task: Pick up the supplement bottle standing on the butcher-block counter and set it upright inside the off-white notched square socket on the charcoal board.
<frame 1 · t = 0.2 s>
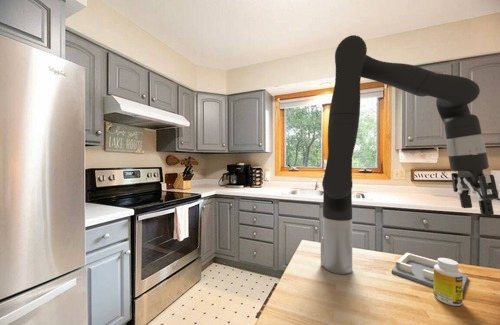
hand: (476, 211, 59), 22 cm above the counter, tool pointing down, fingers open, 8 cm apart
charcoal board: (428, 275, 67), on the counter
supplement bottle: (447, 300, 56), on the counter
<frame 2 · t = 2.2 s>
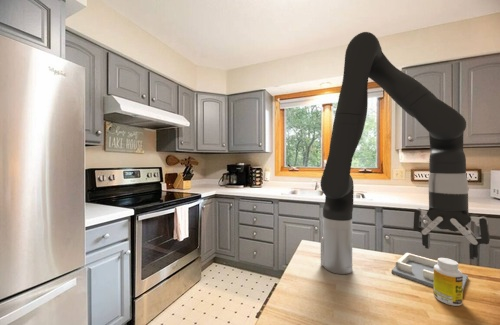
hand: (448, 252, 56), 12 cm above the counter, tool pointing down, fingers open, 8 cm apart
nothing on the counter moved.
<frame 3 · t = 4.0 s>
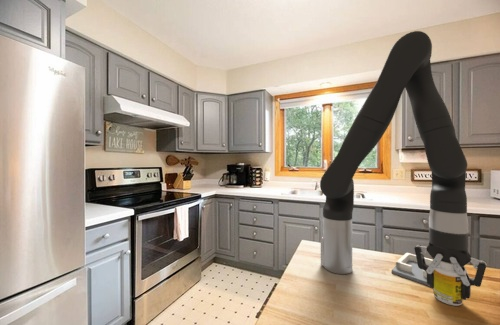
hand: (447, 292, 56), 2 cm above the counter, tool pointing down, fingers closed on supplement bottle, 5 cm apart
supplement bottle: (447, 300, 56), on the counter, touching gripper
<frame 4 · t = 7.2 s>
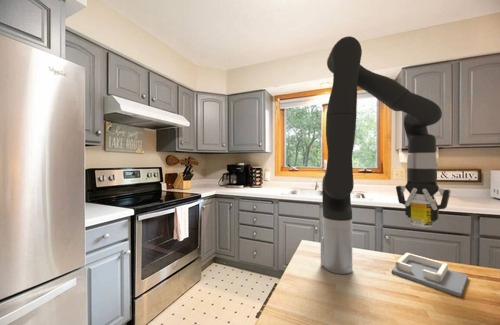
hand: (421, 219, 69), 17 cm above the counter, tool pointing down, fingers closed on supplement bottle, 5 cm apart
supplement bottle: (421, 225, 69), point 15 cm above the counter, touching gripper
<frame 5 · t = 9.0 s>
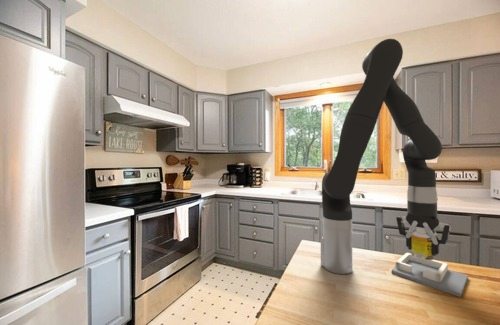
hand: (422, 251, 69), 7 cm above the counter, tool pointing down, fingers closed on supplement bottle, 5 cm apart
supplement bottle: (422, 258, 69), point 4 cm above the counter, touching gripper
when the fingers open (5 cm above the counter, at t = 10.4 s): supplement bottle drops 2 cm, resting on charcoal board.
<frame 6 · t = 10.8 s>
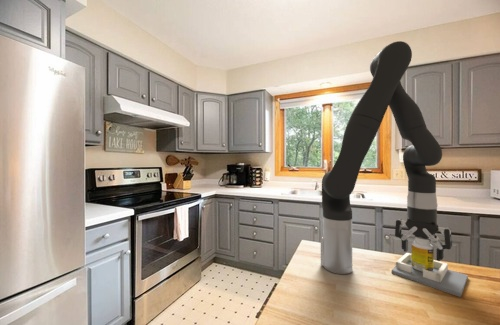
hand: (421, 255, 70), 5 cm above the counter, tool pointing down, fingers open, 8 cm apart
supplement bottle: (422, 269, 69), point 1 cm above the counter, touching charcoal board
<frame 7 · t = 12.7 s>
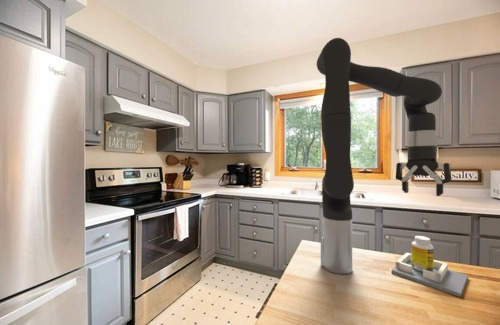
hand: (421, 194, 71), 25 cm above the counter, tool pointing down, fingers open, 8 cm apart
nothing on the counter moved.
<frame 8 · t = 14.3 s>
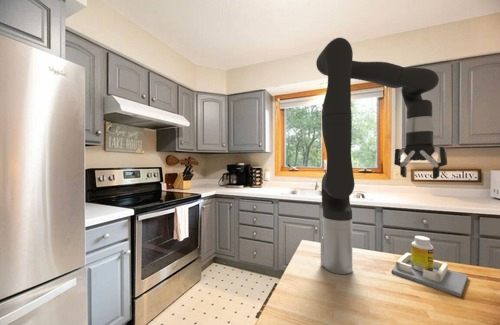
hand: (419, 178, 75), 30 cm above the counter, tool pointing down, fingers open, 8 cm apart
nothing on the counter moved.
at the end: supplement bottle 0.1 cm from the target spot, point 0.8 cm above the counter; supplement bottle tilted 0°; the gripper is holding nothing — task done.
